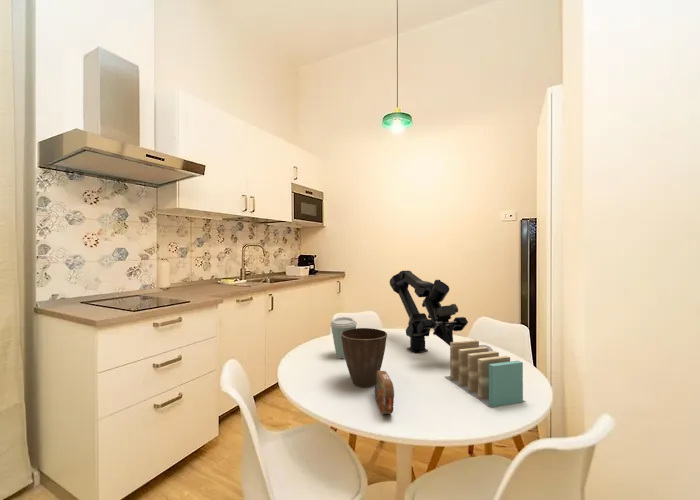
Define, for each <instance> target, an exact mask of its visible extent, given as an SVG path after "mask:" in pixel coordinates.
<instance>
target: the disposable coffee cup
mask: <svg viewBox="0 0 700 500" xmlns="http://www.w3.org/2000/svg"><path fill="white" fill-rule="evenodd" d="M330 327H331V333H332V339H333V340H332V341H333V345H334V350H335V351H334V352H335V355H336V357H337V358H338V357H339V358H338V359H340V358H343V360H345V356H344V351H343V346H342V339H341V332H343V331H345V330H348V329H355V328H357V322H356V320H355V319H354V318H353V317H349V316H346V317H345V316H342V317H341V316H339V317H336V318H334V319H332V320H331V322H330Z"/></svg>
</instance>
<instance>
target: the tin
mask: <svg viewBox="0 0 700 500" xmlns="http://www.w3.org/2000/svg"><path fill="white" fill-rule="evenodd" d="M394 389H395V387H394V384H393V382H392V379H391V378H390V376H389V374H388V372H387V371H386V370H380V371H378V370H377V371H376V374H375V385H374V397H375V401H376V403H377V406H378V409H379V412H380V414H381V415H392V414H393V412H394V401H395V400H394V399H395V390H394Z"/></svg>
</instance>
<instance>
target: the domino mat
mask: <svg viewBox="0 0 700 500" xmlns="http://www.w3.org/2000/svg"><path fill="white" fill-rule="evenodd" d="M444 378H445V379H446V380H448V381H449V382H450V383H452V384H454V385H456V386H457V387H458V388H460V389H461V390H462V391H464V392H465V393H467V394H469V396H470V395H471V396H472V397H474V398H475V400H478V401H479V402H480V403H482V404H483V405H485V406H487V407H488V408H489V409H494V408H499V407H505V406H507V405H503V406H497V407H492V406H491V405H489V399H480V398H479V397H478V392H473V393H471V392H469V391H468V386H460V385H459V380H455V381H453V380H451V379H450V375H447V376H444ZM523 403H527V401H526V400H524V399H523V402H520V403H514V404H509V405H508V406H512V405H518V404H523Z"/></svg>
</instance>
